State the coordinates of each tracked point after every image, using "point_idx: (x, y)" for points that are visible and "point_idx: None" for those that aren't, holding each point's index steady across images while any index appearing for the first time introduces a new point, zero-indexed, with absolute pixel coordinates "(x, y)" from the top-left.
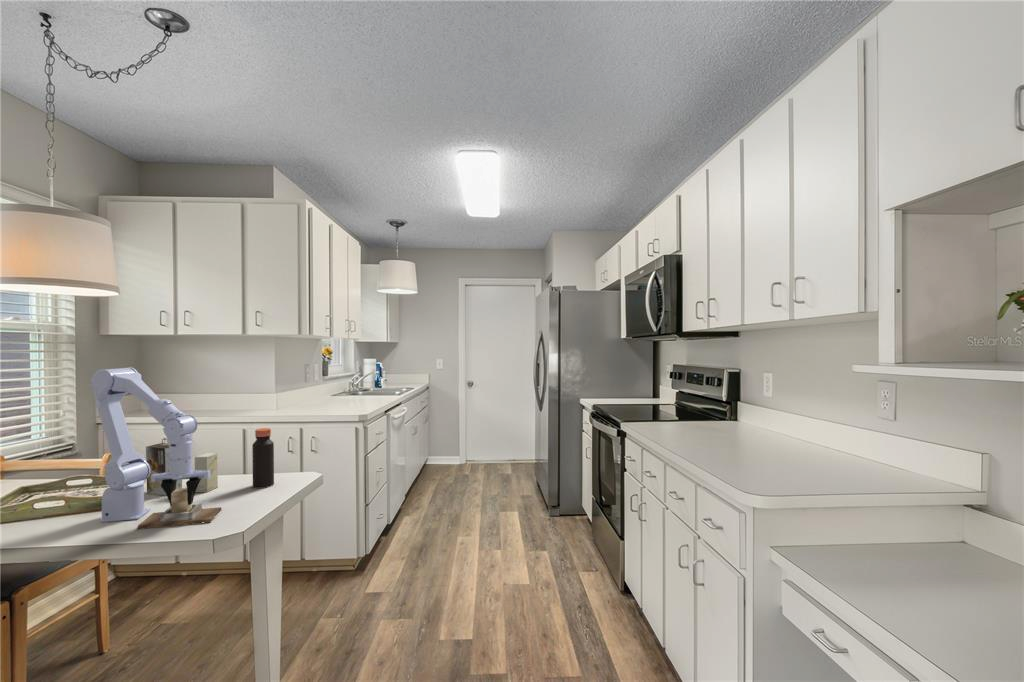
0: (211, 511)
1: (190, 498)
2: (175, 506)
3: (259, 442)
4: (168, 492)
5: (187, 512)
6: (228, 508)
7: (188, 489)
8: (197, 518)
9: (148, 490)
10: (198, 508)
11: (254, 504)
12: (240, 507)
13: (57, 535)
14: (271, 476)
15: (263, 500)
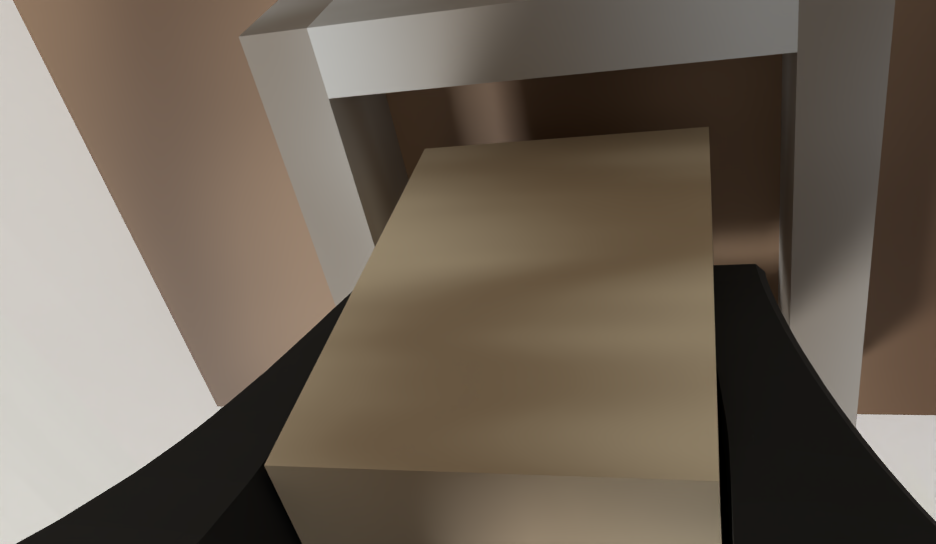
0: (236, 290)
1: (293, 347)
2: (618, 211)
3: None
4: (813, 506)
5: (339, 53)
6: (202, 417)
7: (181, 514)
8: (239, 26)
9: None
10: None
11: (15, 458)
12: (91, 415)
13: None
14: None
15: (18, 528)
